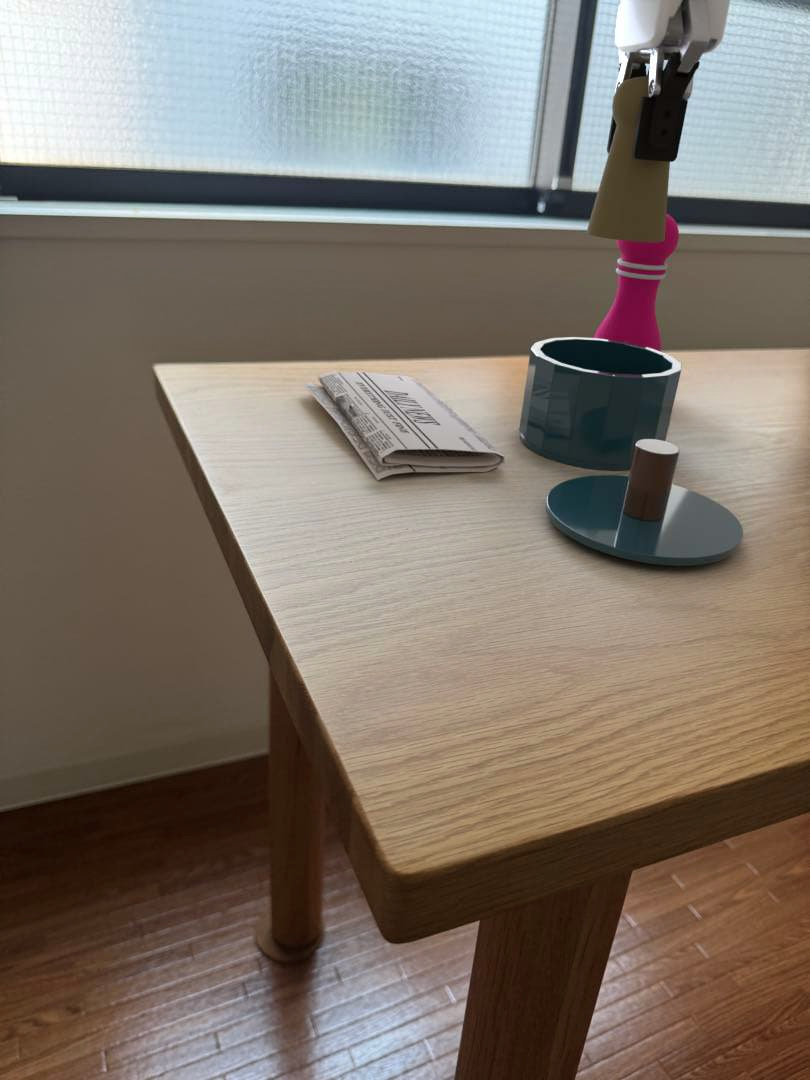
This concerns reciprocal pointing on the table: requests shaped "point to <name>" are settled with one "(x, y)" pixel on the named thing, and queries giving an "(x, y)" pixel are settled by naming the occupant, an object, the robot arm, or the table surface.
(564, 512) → the tin lid
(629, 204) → the olive brown pawn
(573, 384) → the tin
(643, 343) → the pepper mill
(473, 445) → the newspaper
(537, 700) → the table surface
